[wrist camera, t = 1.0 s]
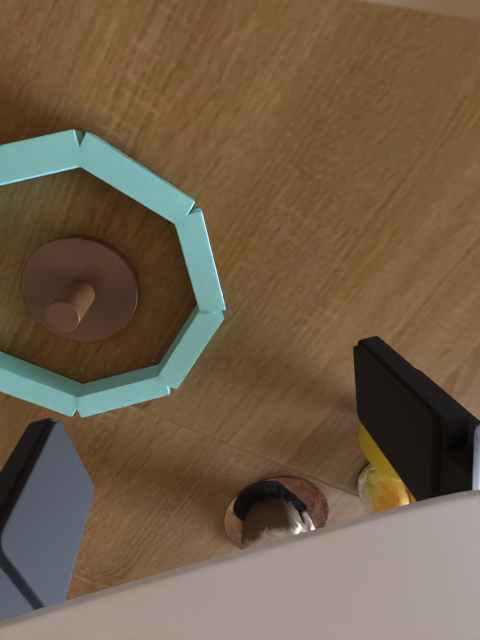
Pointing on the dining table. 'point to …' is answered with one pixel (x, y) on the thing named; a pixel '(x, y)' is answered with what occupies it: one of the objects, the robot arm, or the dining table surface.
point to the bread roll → (381, 491)
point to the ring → (176, 207)
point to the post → (80, 288)
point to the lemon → (375, 454)
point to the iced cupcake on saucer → (274, 511)
